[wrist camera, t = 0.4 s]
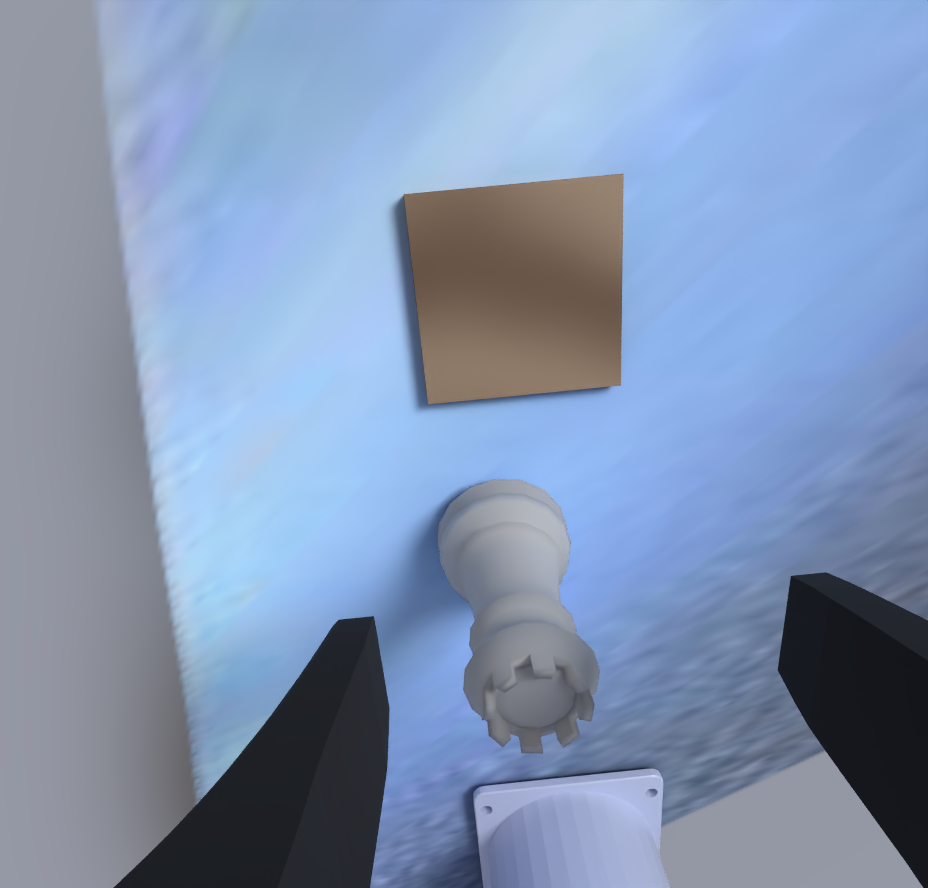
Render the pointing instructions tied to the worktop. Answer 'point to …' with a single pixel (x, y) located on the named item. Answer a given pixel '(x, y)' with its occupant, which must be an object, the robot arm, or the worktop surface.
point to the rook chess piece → (518, 613)
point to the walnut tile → (518, 287)
